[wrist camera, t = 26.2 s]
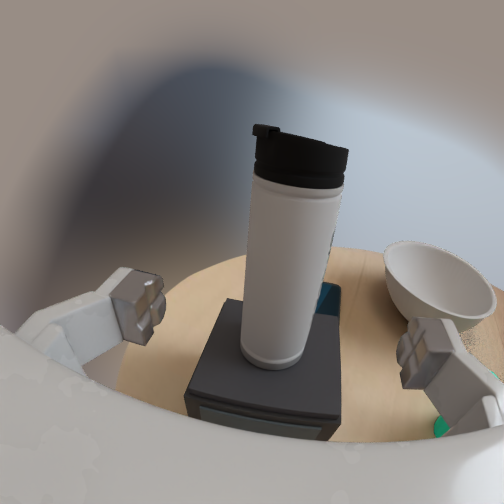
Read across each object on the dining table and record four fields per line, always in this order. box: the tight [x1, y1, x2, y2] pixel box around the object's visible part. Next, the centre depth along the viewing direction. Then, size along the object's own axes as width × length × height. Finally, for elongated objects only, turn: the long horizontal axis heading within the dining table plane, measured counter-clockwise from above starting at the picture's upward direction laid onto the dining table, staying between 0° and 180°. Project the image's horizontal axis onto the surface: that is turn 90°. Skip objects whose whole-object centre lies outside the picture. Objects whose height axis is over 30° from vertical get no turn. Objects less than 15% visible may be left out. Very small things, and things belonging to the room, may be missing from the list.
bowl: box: [383, 241, 497, 333], centre depth 48 cm, size 27×27×10 cm
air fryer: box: [184, 298, 341, 441], centre depth 29 cm, size 16×14×12 cm
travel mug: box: [240, 124, 349, 370], centre depth 22 cm, size 6×7×20 cm
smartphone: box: [315, 282, 341, 321], centre depth 51 cm, size 8×15×1 cm, turn 163°
